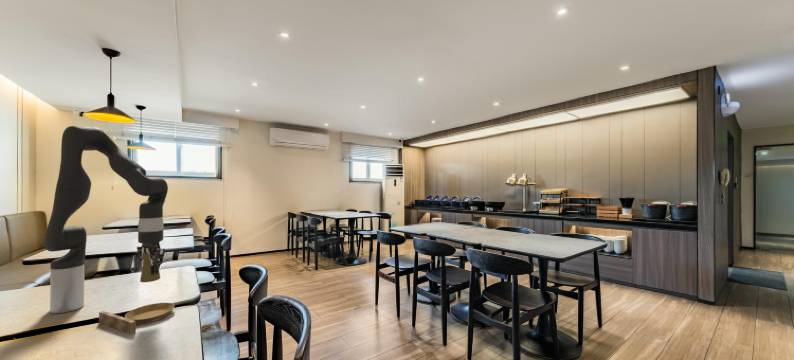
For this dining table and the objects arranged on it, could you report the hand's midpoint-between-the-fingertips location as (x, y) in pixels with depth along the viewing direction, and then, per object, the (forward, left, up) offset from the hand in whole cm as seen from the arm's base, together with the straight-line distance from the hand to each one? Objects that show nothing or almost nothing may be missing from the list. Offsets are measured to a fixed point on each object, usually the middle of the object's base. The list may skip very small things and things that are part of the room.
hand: (150, 273), depth 115 cm
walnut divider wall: (-1, -10, -17) cm, 19 cm away
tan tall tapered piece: (0, 0, -3) cm, 3 cm away
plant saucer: (0, 0, -17) cm, 17 cm away
